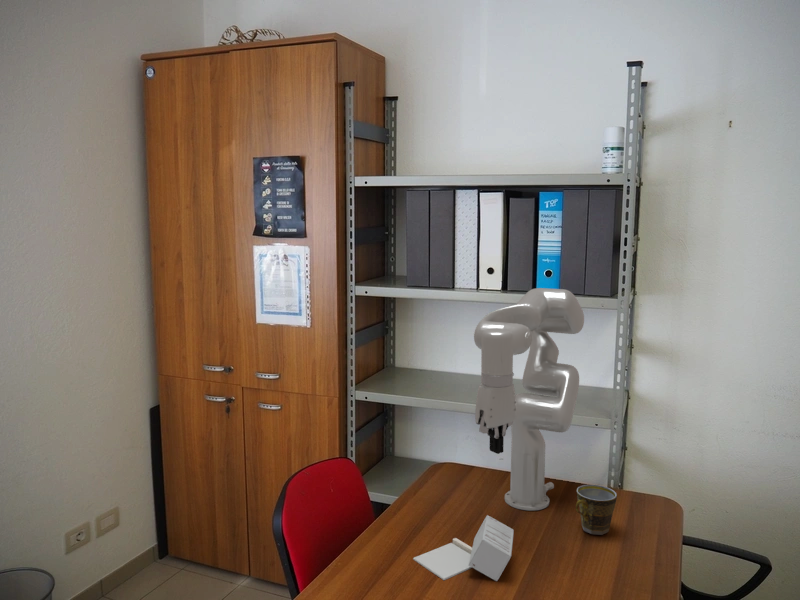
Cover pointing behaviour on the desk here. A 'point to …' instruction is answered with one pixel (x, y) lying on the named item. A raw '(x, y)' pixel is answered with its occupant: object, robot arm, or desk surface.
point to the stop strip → (462, 545)
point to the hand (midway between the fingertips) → (496, 451)
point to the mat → (445, 561)
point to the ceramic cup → (596, 508)
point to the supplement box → (491, 548)
